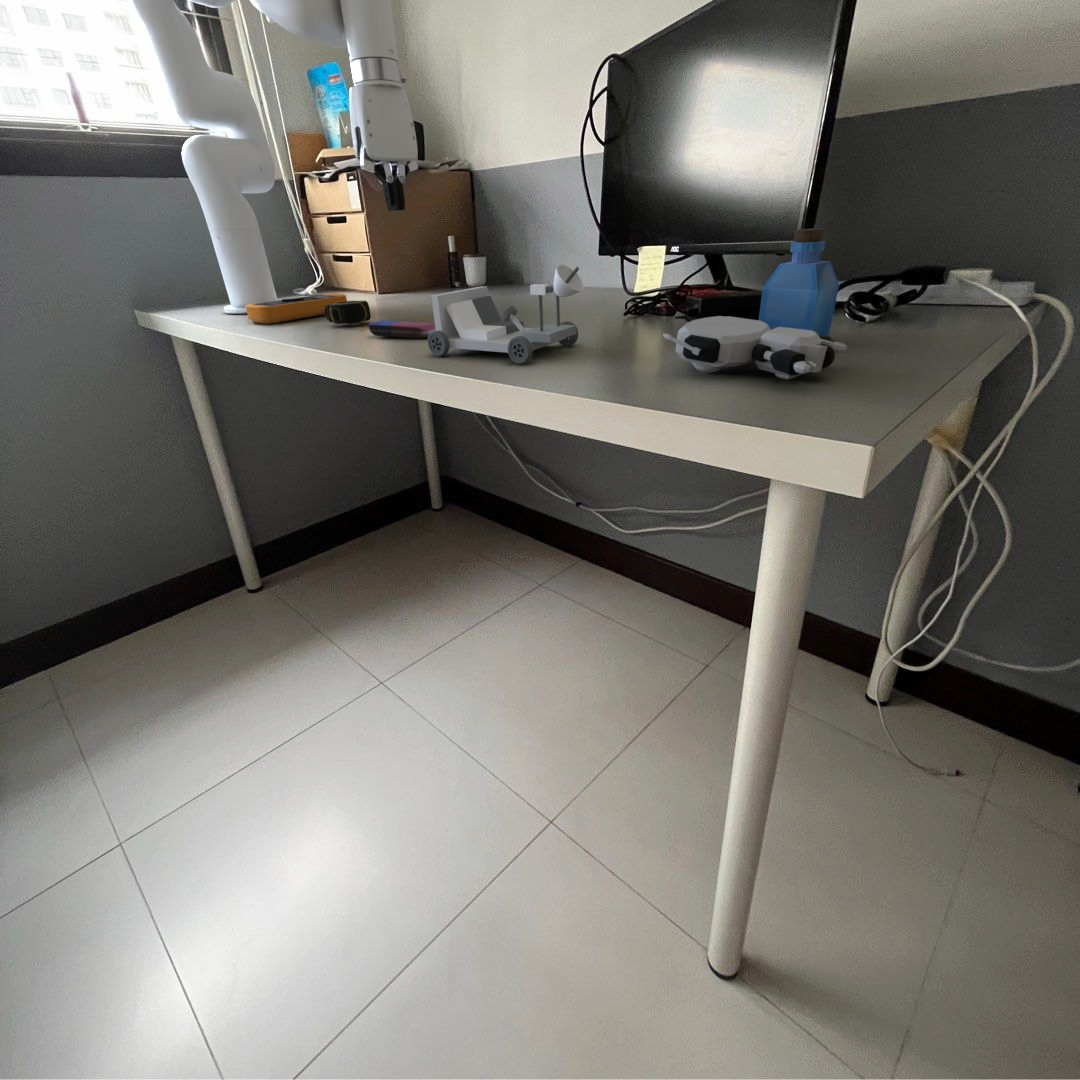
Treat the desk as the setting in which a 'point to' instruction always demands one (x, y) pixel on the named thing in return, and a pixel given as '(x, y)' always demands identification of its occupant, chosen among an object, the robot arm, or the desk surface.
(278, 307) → the multimeter
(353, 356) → the desk surface
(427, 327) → the eraser
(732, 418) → the desk surface
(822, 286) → the perfume bottle
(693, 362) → the robot toy
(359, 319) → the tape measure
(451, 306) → the toy car
